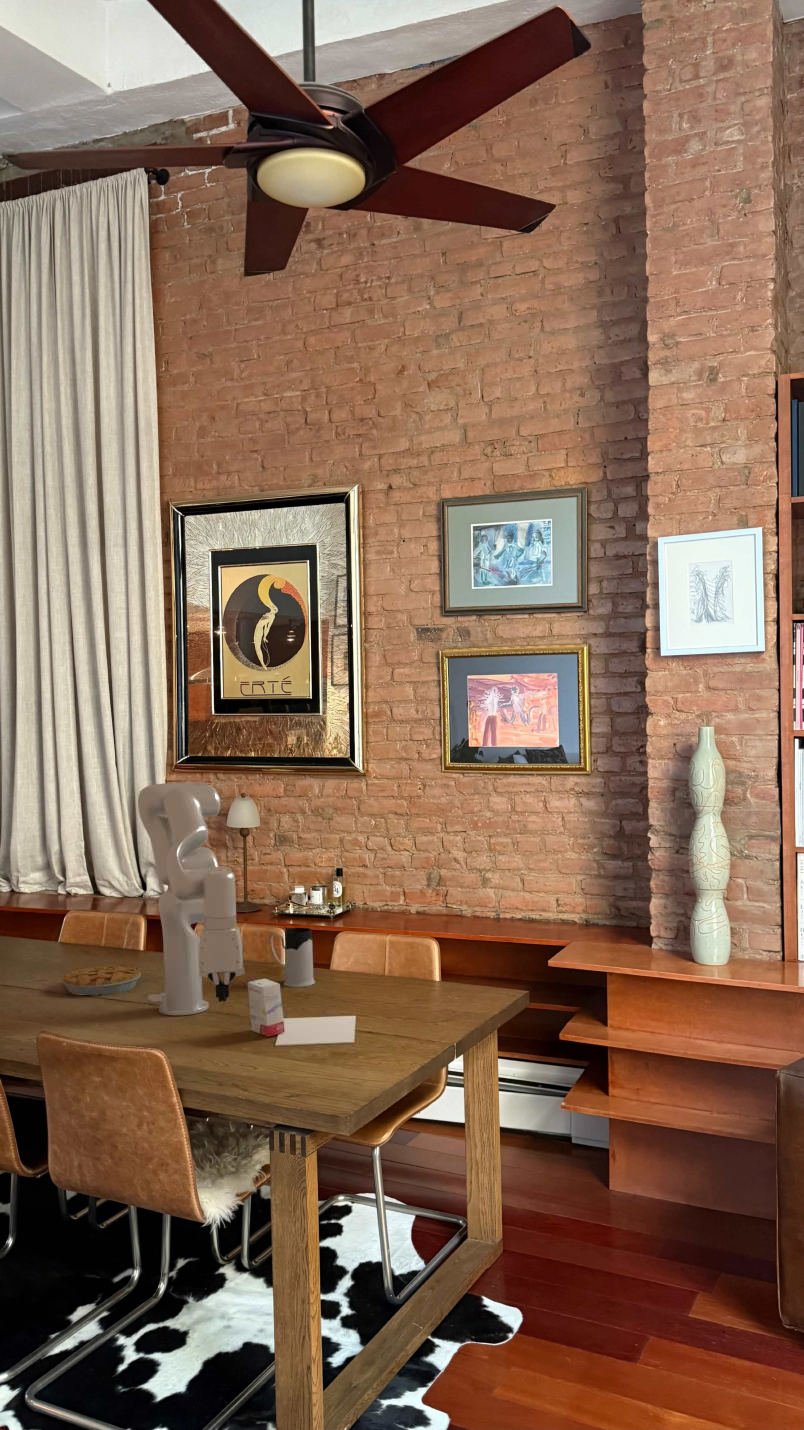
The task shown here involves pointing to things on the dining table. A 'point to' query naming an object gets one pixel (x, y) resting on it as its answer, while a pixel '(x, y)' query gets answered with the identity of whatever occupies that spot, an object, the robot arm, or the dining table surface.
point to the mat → (317, 1031)
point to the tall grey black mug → (297, 957)
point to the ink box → (266, 1007)
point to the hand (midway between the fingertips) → (222, 1000)
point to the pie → (102, 980)
